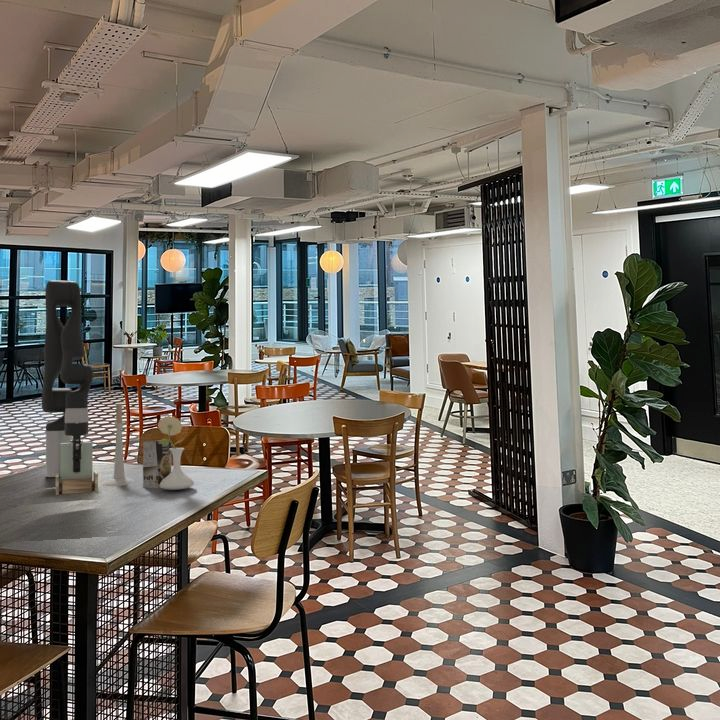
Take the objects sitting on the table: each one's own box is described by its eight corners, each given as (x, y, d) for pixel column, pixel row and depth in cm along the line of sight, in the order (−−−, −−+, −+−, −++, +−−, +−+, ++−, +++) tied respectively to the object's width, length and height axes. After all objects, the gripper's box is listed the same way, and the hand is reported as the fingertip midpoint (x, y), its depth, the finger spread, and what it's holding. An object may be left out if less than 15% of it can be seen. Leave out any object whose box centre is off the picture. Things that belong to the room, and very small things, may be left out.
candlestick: (145, 484, 227) (144, 401, 229) (112, 489, 217) (112, 402, 219) (124, 482, 235) (124, 402, 236) (92, 486, 224) (92, 402, 226)
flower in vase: (200, 487, 216) (200, 414, 218) (182, 492, 205) (182, 415, 207) (167, 486, 220) (167, 415, 221) (148, 491, 209) (147, 416, 210)
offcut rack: (55, 490, 215) (55, 473, 215) (95, 487, 221) (95, 470, 221) (55, 494, 206) (55, 476, 206) (97, 491, 211) (97, 473, 212)
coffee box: (159, 488, 216) (159, 441, 217) (142, 488, 217) (142, 441, 218) (172, 484, 225) (172, 439, 226) (156, 484, 226) (155, 439, 227)
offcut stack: (62, 493, 211) (62, 479, 211) (91, 490, 215) (91, 477, 215) (62, 494, 208) (62, 480, 208) (91, 492, 212) (91, 478, 212)
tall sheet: (60, 490, 215) (60, 443, 216) (91, 487, 219) (92, 441, 220) (60, 491, 212) (60, 443, 213) (92, 488, 216) (92, 442, 217)
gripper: (64, 421, 221) (63, 470, 220) (65, 422, 209) (64, 474, 208) (87, 420, 225) (87, 468, 224) (89, 421, 212) (89, 472, 211)
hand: (76, 471), depth 216 cm, fingers closed on tall sheet, 3 cm apart
